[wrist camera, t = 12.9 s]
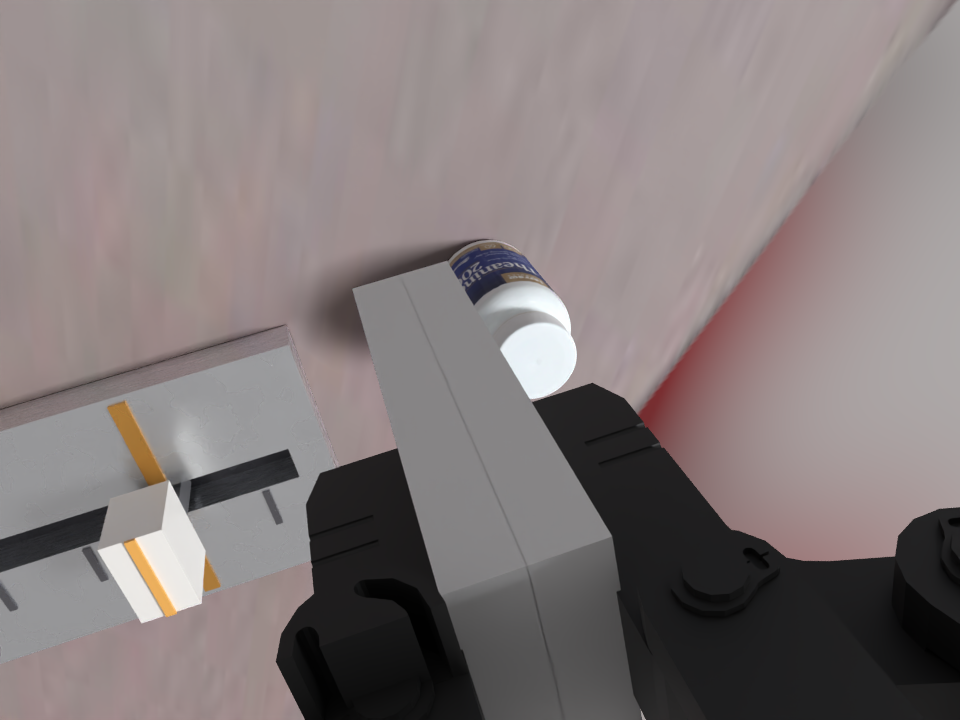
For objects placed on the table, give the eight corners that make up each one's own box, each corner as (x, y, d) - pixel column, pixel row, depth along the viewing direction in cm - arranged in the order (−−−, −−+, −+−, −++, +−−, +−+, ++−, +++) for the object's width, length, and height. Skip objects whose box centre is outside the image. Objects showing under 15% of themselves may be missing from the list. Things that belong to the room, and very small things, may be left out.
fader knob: (121, 454, 44) (96, 552, 37) (175, 437, 45) (161, 531, 38) (157, 522, 47) (141, 625, 40) (208, 505, 47) (201, 605, 40)
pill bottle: (519, 224, 44) (582, 292, 36) (537, 309, 47) (599, 391, 38) (425, 253, 44) (467, 330, 35) (449, 338, 46) (493, 427, 38)
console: (-260, 487, 40) (-291, 520, 38) (286, 324, 43) (288, 346, 41) (-102, 668, 47) (-120, 705, 45) (358, 517, 50) (363, 544, 48)
